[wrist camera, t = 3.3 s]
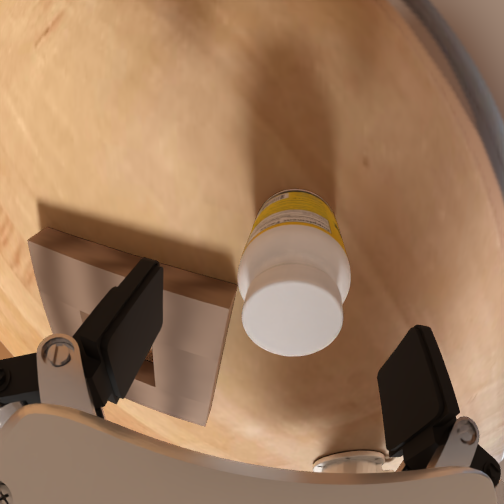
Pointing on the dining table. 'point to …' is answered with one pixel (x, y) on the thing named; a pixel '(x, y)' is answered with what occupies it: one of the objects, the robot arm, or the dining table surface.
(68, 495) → the robot arm
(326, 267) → the supplement bottle
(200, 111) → the dining table surface
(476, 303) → the dining table surface
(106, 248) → the walnut board
